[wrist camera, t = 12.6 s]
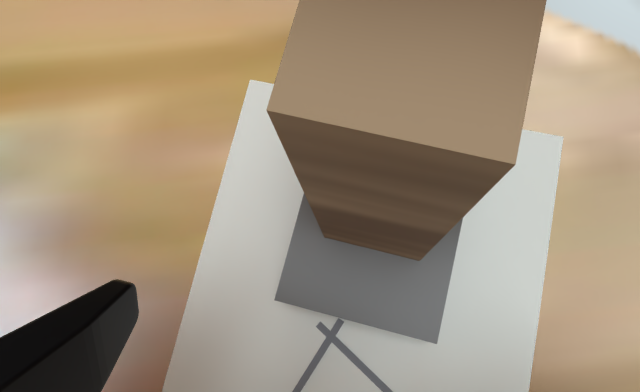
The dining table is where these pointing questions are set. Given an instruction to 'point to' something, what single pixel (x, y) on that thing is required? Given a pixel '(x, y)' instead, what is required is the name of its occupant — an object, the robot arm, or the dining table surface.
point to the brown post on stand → (396, 146)
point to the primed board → (347, 336)
